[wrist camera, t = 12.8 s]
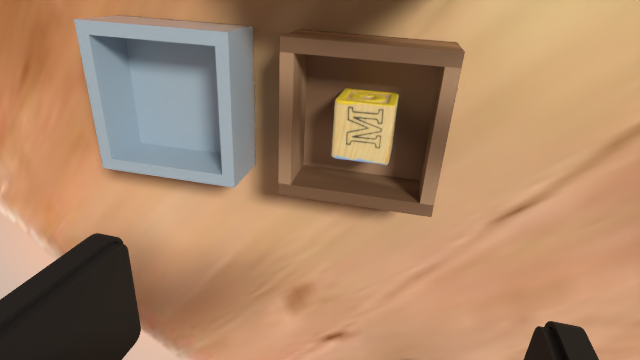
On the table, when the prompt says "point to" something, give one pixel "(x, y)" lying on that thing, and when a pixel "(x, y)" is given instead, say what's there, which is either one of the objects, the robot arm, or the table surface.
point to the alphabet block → (364, 125)
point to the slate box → (171, 96)
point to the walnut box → (376, 75)
